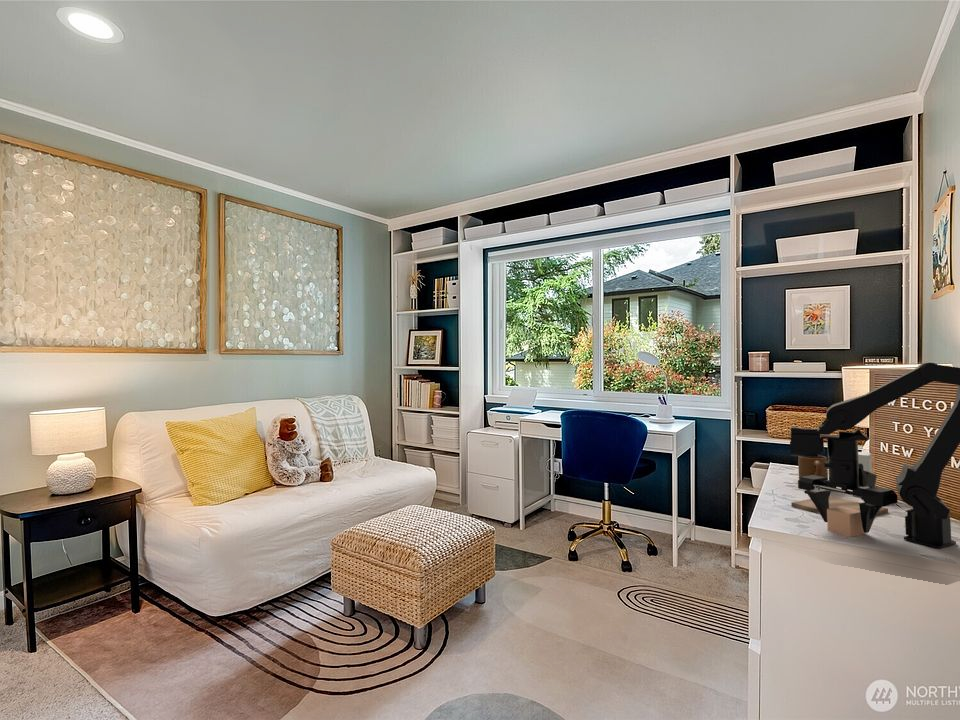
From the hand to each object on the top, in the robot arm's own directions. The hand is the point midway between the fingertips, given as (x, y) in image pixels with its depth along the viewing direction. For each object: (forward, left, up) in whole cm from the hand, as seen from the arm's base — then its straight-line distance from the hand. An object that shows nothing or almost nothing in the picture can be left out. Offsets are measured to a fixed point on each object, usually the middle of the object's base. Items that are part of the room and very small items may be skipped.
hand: (845, 527), depth 116 cm
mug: (+29, -32, -1) cm, 43 cm away
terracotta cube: (0, 0, -1) cm, 1 cm away
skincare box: (+18, -36, -1) cm, 40 cm away
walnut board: (+12, -16, -1) cm, 20 cm away
